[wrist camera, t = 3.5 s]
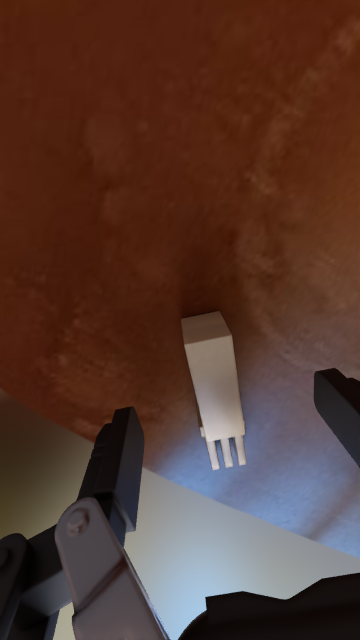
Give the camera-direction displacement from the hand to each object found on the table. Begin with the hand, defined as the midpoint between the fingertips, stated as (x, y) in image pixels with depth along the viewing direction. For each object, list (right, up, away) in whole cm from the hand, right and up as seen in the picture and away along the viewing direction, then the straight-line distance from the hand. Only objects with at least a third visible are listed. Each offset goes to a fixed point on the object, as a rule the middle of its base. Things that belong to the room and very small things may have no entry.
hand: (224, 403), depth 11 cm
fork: (0, -1, +7) cm, 7 cm away
